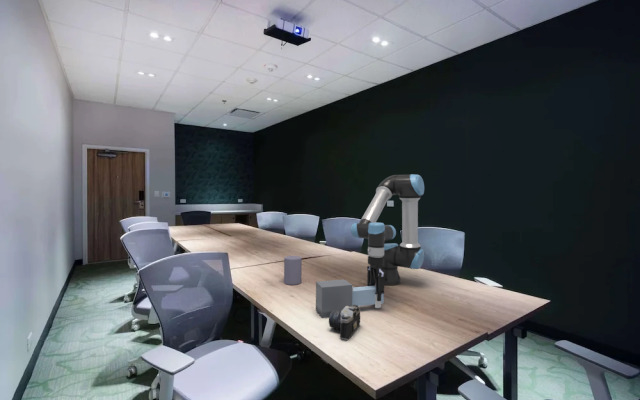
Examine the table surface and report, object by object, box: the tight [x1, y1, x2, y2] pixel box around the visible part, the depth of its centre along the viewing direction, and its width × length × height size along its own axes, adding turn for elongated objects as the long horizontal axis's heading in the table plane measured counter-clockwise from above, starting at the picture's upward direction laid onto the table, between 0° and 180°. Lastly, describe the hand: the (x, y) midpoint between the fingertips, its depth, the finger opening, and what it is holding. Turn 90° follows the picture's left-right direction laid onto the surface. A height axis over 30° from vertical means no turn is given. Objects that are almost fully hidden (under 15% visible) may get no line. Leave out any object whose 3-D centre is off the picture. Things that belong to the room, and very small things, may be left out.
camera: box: [328, 305, 361, 341], centre depth 118 cm, size 16×10×10 cm, turn 155°
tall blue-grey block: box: [352, 285, 385, 307], centre depth 140 cm, size 18×5×7 cm, turn 107°
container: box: [283, 255, 303, 286], centre depth 180 cm, size 10×10×15 cm
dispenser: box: [315, 279, 354, 319], centre depth 136 cm, size 14×9×13 cm, turn 107°
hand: (375, 305), depth 142 cm, fingers closed on tall blue-grey block, 5 cm apart
